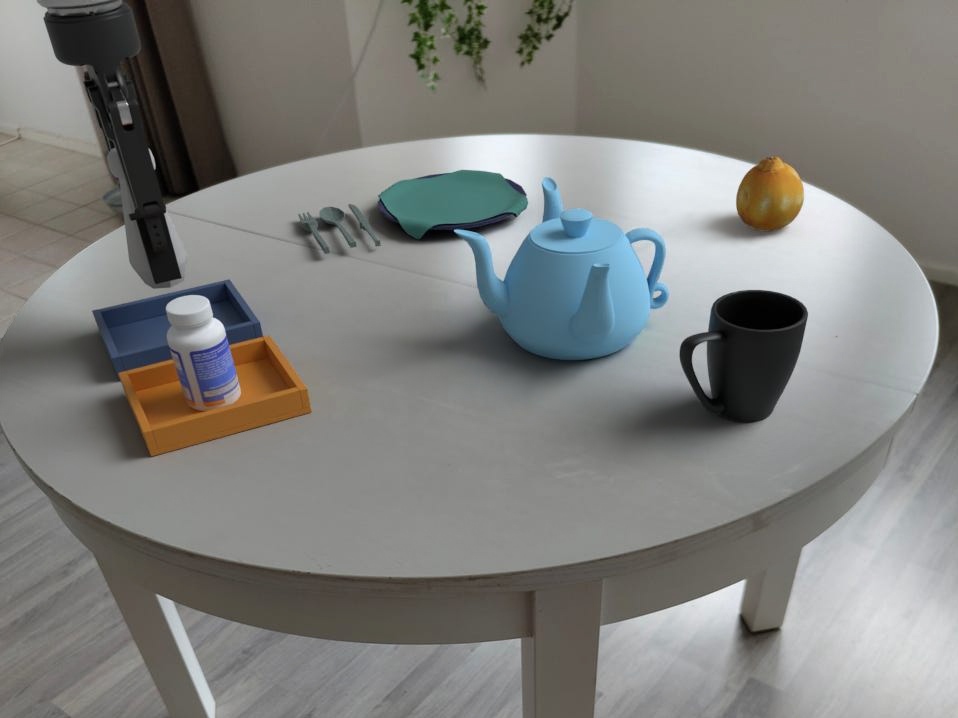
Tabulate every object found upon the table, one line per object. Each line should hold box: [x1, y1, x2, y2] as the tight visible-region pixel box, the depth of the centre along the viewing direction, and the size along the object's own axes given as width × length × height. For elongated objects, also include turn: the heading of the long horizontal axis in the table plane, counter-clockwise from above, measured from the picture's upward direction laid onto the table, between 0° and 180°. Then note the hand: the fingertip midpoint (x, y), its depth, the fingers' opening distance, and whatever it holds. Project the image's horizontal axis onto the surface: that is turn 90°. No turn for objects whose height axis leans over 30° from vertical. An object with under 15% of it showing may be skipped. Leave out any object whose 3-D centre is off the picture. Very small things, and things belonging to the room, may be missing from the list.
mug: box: [678, 289, 809, 423], centre depth 84 cm, size 8×12×10 cm
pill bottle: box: [166, 295, 241, 411], centre depth 89 cm, size 5×5×10 cm
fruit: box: [735, 156, 805, 232], centre depth 116 cm, size 8×8×8 cm
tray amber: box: [118, 334, 312, 457], centre depth 92 cm, size 16×13×3 cm
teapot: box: [453, 176, 670, 361], centre depth 96 cm, size 17×19×12 cm
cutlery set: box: [297, 169, 529, 255], centre depth 124 cm, size 20×30×2 cm, turn 110°
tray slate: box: [91, 278, 264, 382], centre depth 102 cm, size 16×13×3 cm
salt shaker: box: [106, 147, 189, 290], centre depth 94 cm, size 6×6×13 cm
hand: (161, 268), depth 98 cm, fingers closed on salt shaker, 6 cm apart
